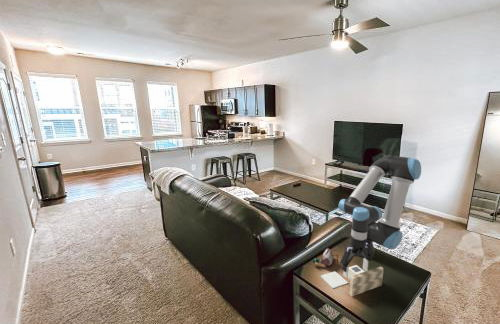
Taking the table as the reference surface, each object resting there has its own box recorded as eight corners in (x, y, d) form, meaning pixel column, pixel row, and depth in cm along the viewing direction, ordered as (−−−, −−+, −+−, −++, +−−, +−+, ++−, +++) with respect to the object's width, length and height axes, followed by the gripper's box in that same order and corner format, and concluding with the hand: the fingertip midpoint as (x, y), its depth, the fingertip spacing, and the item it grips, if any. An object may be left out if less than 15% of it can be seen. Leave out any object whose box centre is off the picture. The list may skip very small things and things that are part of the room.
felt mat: (335, 271, 133) (335, 271, 133) (348, 283, 124) (348, 282, 124) (320, 276, 129) (320, 275, 129) (332, 288, 120) (332, 288, 120)
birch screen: (379, 283, 123) (380, 266, 121) (381, 285, 122) (383, 268, 120) (349, 294, 116) (350, 276, 114) (351, 296, 115) (353, 278, 113)
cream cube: (355, 274, 131) (356, 264, 129) (364, 281, 125) (364, 271, 124) (346, 277, 129) (347, 267, 127) (355, 284, 123) (356, 274, 122)
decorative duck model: (312, 259, 134) (309, 244, 149) (313, 270, 136) (309, 254, 150) (340, 258, 132) (333, 243, 147) (340, 269, 134) (333, 253, 148)
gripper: (370, 229, 129) (367, 263, 134) (334, 238, 121) (331, 274, 125) (382, 235, 123) (378, 271, 127) (345, 245, 114) (341, 283, 118)
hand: (355, 273), depth 126 cm, fingers open, 13 cm apart
